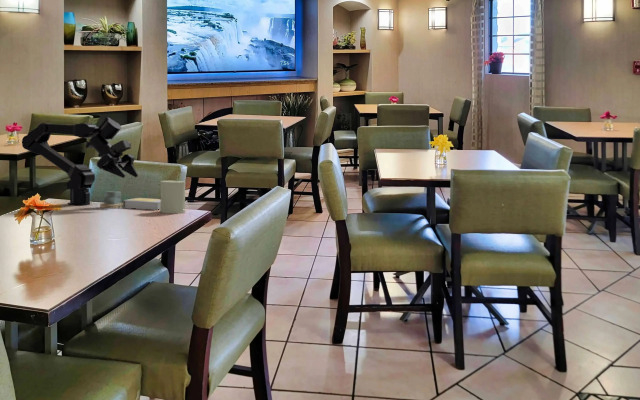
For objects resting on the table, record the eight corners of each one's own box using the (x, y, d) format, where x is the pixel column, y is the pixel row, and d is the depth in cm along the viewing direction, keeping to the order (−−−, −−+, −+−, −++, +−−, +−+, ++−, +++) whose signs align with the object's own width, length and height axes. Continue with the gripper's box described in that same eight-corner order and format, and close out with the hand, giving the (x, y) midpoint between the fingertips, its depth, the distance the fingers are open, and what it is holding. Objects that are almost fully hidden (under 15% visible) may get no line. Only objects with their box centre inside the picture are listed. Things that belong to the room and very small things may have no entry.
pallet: (100, 207, 227) (100, 191, 227) (108, 205, 233) (108, 190, 233) (116, 208, 226) (116, 192, 225) (124, 207, 232) (125, 191, 231)
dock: (123, 207, 228) (123, 199, 228) (138, 205, 239) (138, 197, 239) (157, 210, 225) (157, 202, 225) (170, 207, 236) (170, 199, 236)
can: (188, 211, 227) (189, 180, 225) (180, 214, 217) (181, 181, 216) (165, 210, 227) (165, 178, 226) (156, 212, 218) (156, 180, 217)
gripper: (103, 131, 218) (131, 161, 217) (129, 134, 236) (155, 161, 235) (84, 153, 220) (112, 183, 219) (112, 154, 239) (138, 181, 237)
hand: (130, 176), depth 227 cm, fingers open, 9 cm apart
